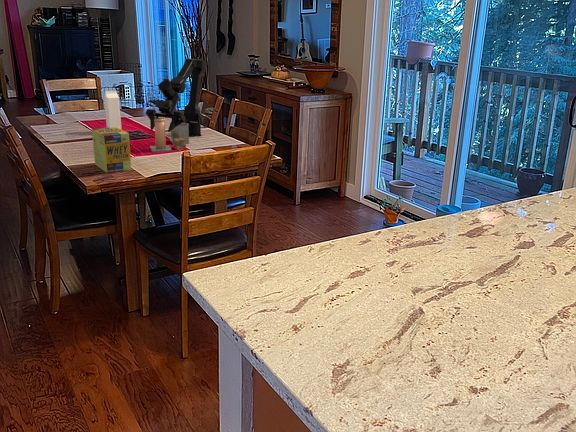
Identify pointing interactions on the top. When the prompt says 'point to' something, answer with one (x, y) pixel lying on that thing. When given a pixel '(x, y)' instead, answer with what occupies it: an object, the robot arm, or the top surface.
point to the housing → (180, 132)
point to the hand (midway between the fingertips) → (159, 130)
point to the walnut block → (179, 143)
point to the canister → (160, 133)
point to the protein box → (111, 149)
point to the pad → (153, 149)
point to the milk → (112, 109)
